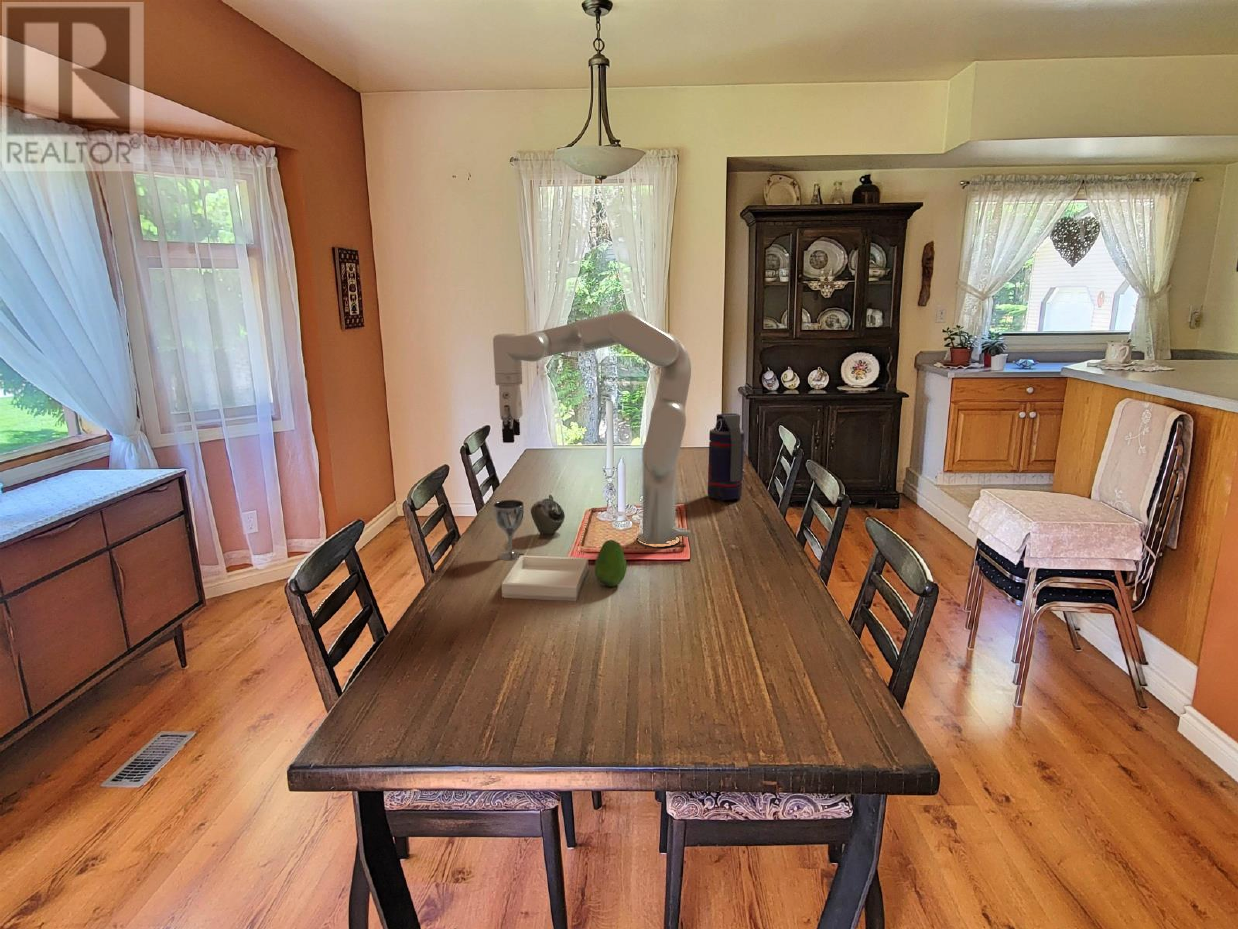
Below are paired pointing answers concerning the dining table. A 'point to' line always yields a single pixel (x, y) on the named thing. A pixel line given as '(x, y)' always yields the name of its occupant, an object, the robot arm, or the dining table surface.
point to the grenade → (726, 458)
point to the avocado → (610, 564)
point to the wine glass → (509, 523)
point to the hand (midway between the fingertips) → (511, 438)
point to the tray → (546, 578)
